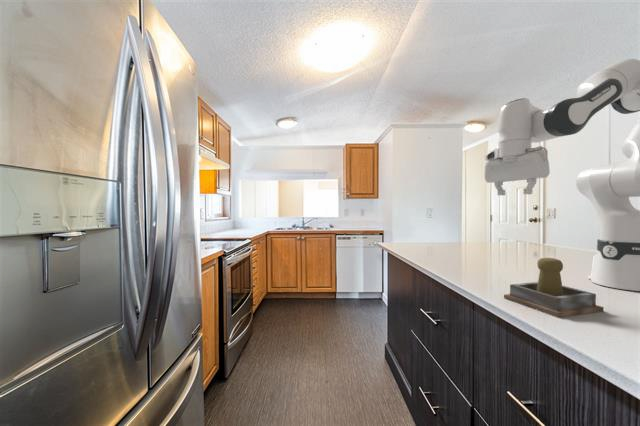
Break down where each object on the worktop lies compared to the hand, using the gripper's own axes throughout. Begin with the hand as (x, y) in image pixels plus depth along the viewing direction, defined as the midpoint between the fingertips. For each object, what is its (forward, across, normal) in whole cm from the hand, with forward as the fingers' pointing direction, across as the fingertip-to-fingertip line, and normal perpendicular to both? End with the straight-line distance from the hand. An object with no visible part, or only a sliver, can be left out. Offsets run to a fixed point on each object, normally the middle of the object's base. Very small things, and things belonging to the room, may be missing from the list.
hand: (514, 194), depth 93 cm
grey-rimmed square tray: (+29, -17, +7) cm, 34 cm away
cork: (+28, -17, +7) cm, 34 cm away
